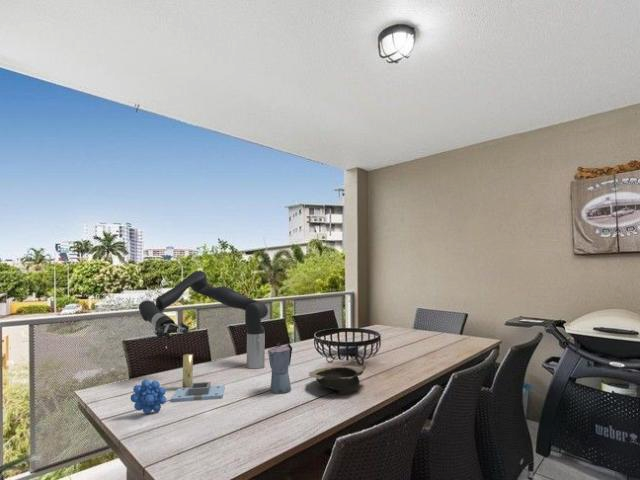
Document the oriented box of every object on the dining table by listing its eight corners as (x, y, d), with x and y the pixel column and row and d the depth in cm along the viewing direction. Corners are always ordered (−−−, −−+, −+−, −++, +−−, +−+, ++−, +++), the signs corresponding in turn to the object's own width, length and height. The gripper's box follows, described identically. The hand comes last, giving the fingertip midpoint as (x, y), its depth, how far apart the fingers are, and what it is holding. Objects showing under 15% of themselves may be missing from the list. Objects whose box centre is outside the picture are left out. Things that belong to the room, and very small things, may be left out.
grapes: (130, 422, 118) (131, 385, 119) (129, 414, 124) (130, 380, 125) (167, 414, 124) (168, 379, 125) (165, 408, 130) (166, 374, 131)
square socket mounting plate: (224, 388, 151) (224, 379, 152) (222, 398, 140) (222, 388, 140) (178, 391, 148) (178, 382, 148) (171, 401, 136) (172, 392, 136)
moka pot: (260, 393, 144) (261, 344, 146) (281, 382, 158) (281, 337, 160) (279, 397, 140) (280, 346, 142) (299, 386, 154) (299, 339, 155)
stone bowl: (364, 399, 137) (362, 375, 138) (303, 400, 142) (301, 376, 143) (368, 379, 161) (367, 358, 162) (316, 380, 166) (314, 360, 167)
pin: (192, 386, 153) (193, 353, 155) (191, 389, 150) (192, 356, 151) (183, 387, 153) (184, 354, 154) (181, 390, 149) (182, 356, 150)
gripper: (175, 327, 176) (192, 340, 166) (146, 332, 165) (163, 347, 155) (177, 313, 175) (194, 326, 165) (148, 317, 164) (165, 331, 154)
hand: (179, 336), depth 160 cm, fingers open, 8 cm apart
